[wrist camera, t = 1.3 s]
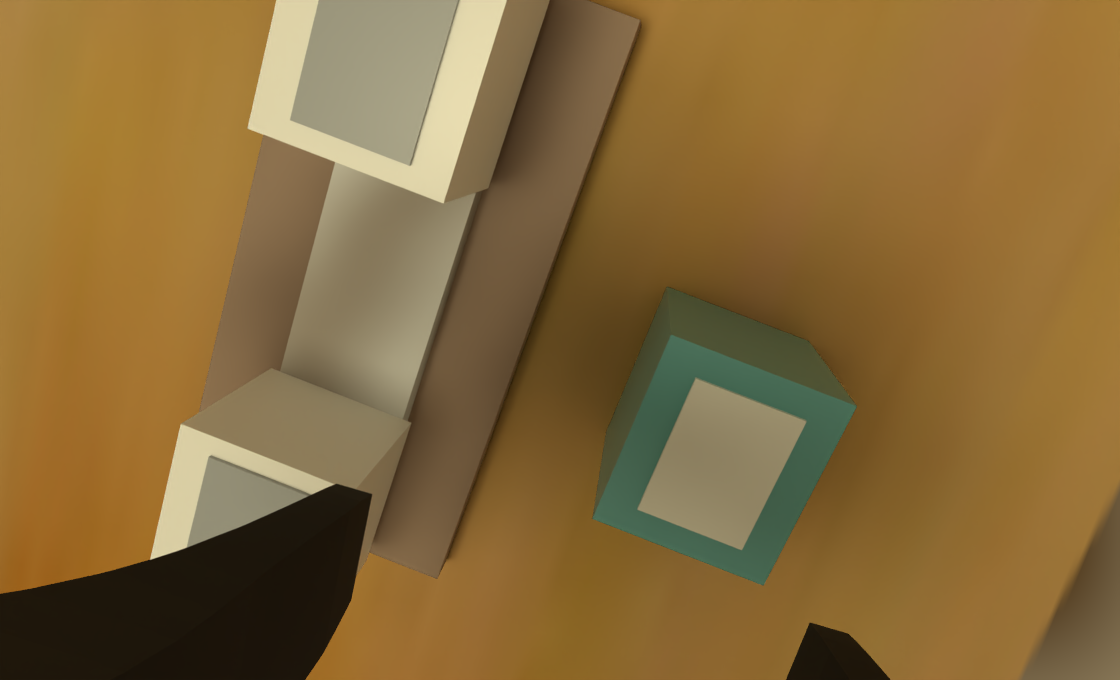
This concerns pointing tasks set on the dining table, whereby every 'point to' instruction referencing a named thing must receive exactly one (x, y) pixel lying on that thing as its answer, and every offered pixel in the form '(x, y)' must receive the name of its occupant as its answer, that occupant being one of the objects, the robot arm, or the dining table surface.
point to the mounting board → (422, 278)
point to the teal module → (719, 437)
